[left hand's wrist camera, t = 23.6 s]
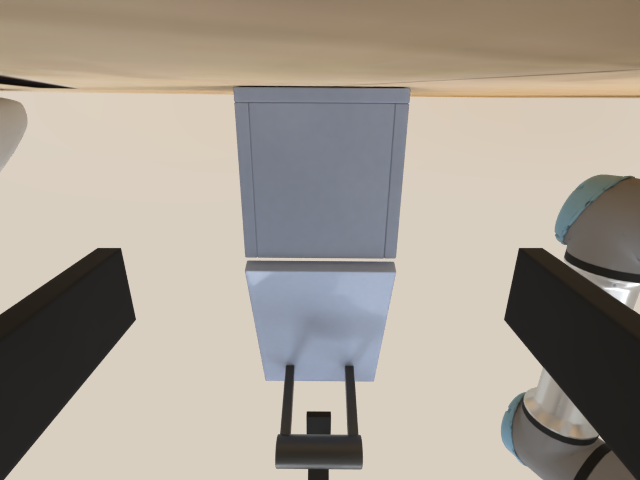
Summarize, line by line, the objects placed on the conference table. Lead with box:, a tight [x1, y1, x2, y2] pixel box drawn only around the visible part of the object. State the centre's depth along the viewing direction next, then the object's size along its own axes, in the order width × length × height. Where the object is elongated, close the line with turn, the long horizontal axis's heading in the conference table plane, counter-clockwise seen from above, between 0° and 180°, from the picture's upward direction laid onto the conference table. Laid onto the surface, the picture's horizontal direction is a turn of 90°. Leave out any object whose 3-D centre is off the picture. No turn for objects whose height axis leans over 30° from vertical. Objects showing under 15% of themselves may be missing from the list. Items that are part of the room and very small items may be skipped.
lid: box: [245, 261, 396, 469], centre depth 25 cm, size 14×9×8 cm
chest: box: [233, 87, 410, 258], centre depth 27 cm, size 13×9×10 cm
